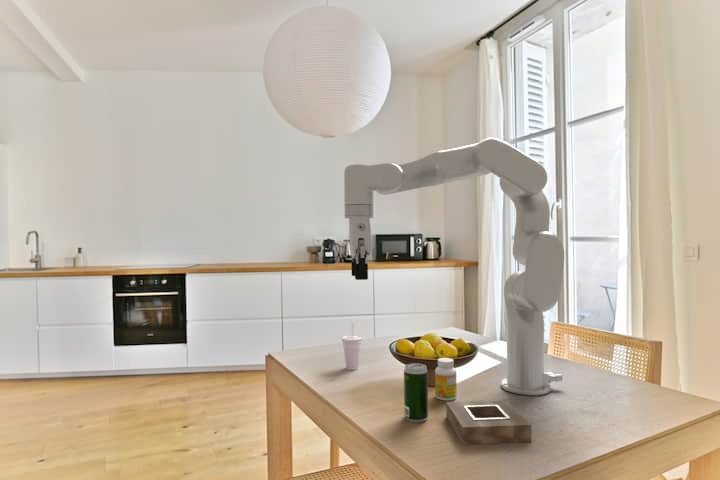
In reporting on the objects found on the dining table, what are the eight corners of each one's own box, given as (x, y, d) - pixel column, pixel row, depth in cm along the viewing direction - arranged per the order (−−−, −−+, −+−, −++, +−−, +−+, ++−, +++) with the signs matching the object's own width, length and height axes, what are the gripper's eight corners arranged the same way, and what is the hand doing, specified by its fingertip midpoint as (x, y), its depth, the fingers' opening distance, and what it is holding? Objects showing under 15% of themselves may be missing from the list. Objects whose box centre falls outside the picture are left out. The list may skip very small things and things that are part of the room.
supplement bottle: (431, 395, 124) (431, 358, 124) (448, 392, 126) (448, 356, 126) (442, 402, 119) (442, 363, 119) (460, 399, 121) (460, 361, 121)
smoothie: (366, 367, 150) (365, 323, 150) (355, 372, 145) (354, 326, 144) (349, 364, 154) (348, 321, 153) (337, 369, 148) (337, 324, 148)
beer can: (414, 425, 105) (414, 371, 105) (399, 417, 110) (399, 365, 110) (432, 419, 108) (432, 367, 108) (417, 412, 113) (417, 361, 112)
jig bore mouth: (497, 405, 107) (497, 404, 107) (510, 419, 99) (510, 418, 99) (463, 406, 106) (463, 405, 106) (473, 420, 99) (473, 419, 99)
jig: (506, 415, 110) (506, 400, 110) (531, 442, 96) (531, 424, 96) (446, 417, 109) (446, 402, 109) (463, 444, 95) (462, 427, 95)
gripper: (377, 211, 117) (378, 280, 117) (368, 213, 134) (369, 274, 134) (347, 211, 116) (347, 281, 116) (342, 213, 133) (342, 275, 133)
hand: (359, 277), depth 125 cm, fingers open, 9 cm apart
